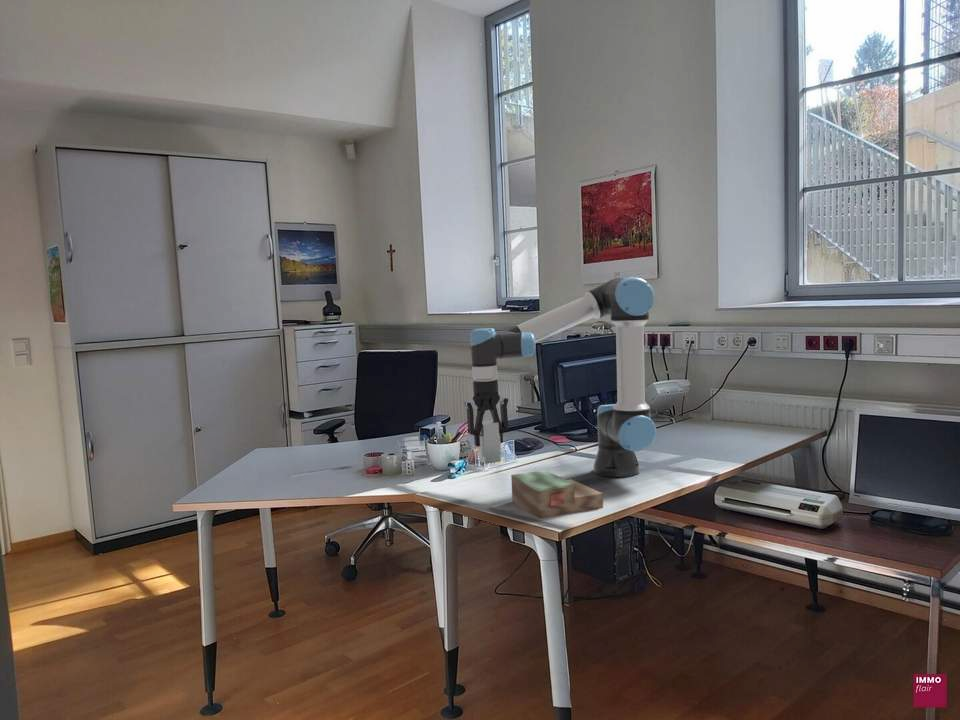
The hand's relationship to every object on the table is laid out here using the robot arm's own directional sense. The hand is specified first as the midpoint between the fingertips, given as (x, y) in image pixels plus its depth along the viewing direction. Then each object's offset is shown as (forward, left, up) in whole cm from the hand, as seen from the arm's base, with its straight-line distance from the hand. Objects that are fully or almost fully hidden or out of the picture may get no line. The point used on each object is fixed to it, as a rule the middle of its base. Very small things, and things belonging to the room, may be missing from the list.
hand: (489, 455), depth 222 cm
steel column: (0, 0, -2) cm, 2 cm away
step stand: (-13, +19, -12) cm, 26 cm away
